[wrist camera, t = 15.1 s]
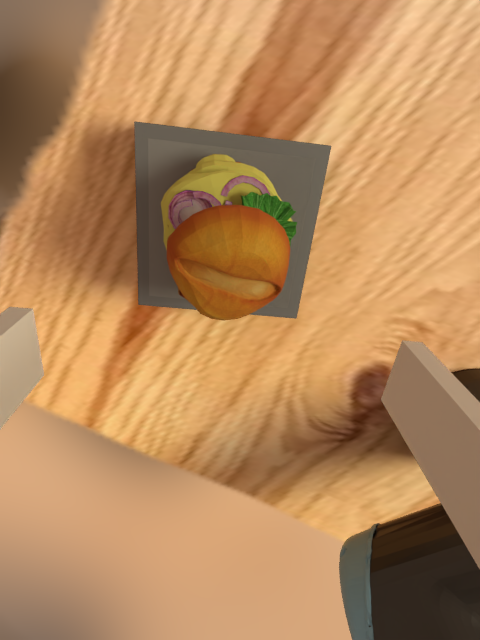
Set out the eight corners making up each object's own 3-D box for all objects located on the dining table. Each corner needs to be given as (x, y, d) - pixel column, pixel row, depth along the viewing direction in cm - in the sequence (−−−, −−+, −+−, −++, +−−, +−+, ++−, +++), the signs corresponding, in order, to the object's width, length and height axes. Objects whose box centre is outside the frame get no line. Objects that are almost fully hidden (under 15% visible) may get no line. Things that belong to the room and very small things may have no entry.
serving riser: (288, 297, 38) (296, 318, 34) (149, 285, 37) (138, 304, 33) (317, 145, 32) (331, 146, 27) (148, 124, 31) (134, 121, 26)
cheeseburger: (281, 137, 27) (310, 185, 19) (287, 258, 34) (311, 328, 26) (150, 159, 27) (129, 214, 20) (183, 274, 34) (177, 348, 27)
